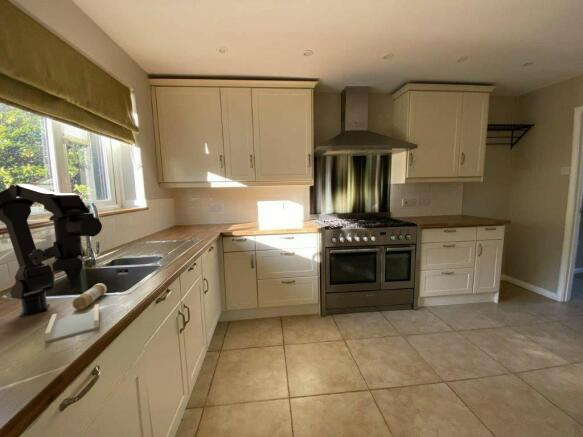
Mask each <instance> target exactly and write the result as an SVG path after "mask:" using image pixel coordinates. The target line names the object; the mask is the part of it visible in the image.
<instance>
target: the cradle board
mask: <svg viewBox="0 0 583 437" xmlns="http://www.w3.org/2000/svg"><path fill="white" fill-rule="evenodd" d="M93 309H94V310H93V311H89V312H84V313H80V314H76V315H72V316H68V317H67V316H66V317H64V318H59V319H58V313H53V314H51V317H50V319H49V322H48V325H47V327H46V330H45V332H44V338H45V339H44V340H45V343H46V344H47V343H50V342H54V341H58V340H62V339H65V338H69V337H73V336H76V335H80V334H85V333H89V332H91V331H94V330H98V329H100V305H99V303H97V304H94V308H93Z"/></svg>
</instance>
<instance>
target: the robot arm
mask: <svg viewBox="0 0 583 437" xmlns="http://www.w3.org/2000/svg"><path fill="white" fill-rule="evenodd" d="M35 203H37V204H39V205H43V207H44V208H43V209H44V210H46V211H48V212H49V213H51V214H52V215H51V216H50V217H49V218H48V220H49V221H51V222H52V221H53V228H54V230H53V231H54V236H55V237H54V238H55V239H54V241H53V242H52V243H53V244H51V245H49V246H46V247H42V248H41V247H39V248H36V244H35V241H34V238H33V235H32V232H31V229H30V226H29V222H28V219H29V217H30V216H31V213H32V206H33V205H34V204H35ZM0 222H2V223H3V224H4V225H5V228H6V230H7V232H8V236H9V238H10V242H11V245H12V246H11V247H12V248H13V251H14V255H15V257H16V261H17V265H18V270H17V271H16V273H15V276H14V280H15V283H14V285H13V286H12V288H11V289H10V291H9V294H10V296H11V299H16V300H20V302H21V309H22V310H21V313H20V314H19V315H18V317H19V318H23V317H26V316H33V315H37V314H40V313H44V312H48V311H49V308H50V307H51V304H50V303H48V302H47V296H46V295H47V294H46V292H49V291H53V289H54V285H55V275H54V274H53V272H59V271H62V272H64V273H65V276H66V277H67V280H68V282H69V284H70V286H71V287H73V286H77V283H78V280H79V277H80V275H81V274H82V273H81V272H82V270H83V267H84V264H85V259H84V258H83V257H86V249H84V248H83V246H82V245H83V244H82V240H83V239H82V237H95V236H97V235H99V234H100V233H101V231H102V228H103V225H102V223H101V221H100V219H98V218H97V217H95V216H94V213H93V212H90V209H89V208H88V207H87V205H86V204H85V203H84V201H83V199H82V198H81V196H80V195H79V194H77V193H73V192H72V193H71V192H70V193H68V192H66V193H65V192H54V191H51V190H48V189H45V188H42V187H38V186H35V184H34V185H33V184H30V183H29V184H28V183H27V184H26V183H14V184H10V185H9V187H8V188H6V189H4V190H1V191H0ZM52 258H54V259H55V261H53V262H52V264H51V265H52V267H51V265H50V264H45V263H43V262H45V261H47V260H50V259H52Z"/></svg>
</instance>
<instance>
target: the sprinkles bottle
mask: <svg viewBox="0 0 583 437" xmlns="http://www.w3.org/2000/svg"><path fill="white" fill-rule="evenodd" d="M107 291H108V289H107V285H105V283H96V284H94V285H93V286H92V287H91V288H89V289H87V290H86V291H84V292H83V293H81V294H80V295H79V296H77V297H75V298H74V299H73V301H72V307H73V308H74V309H75V310H76V311H77V310H79V311H81V310H84V309H86V308H87V307H88V306H89V305H91V304H92V303H94V302H95V301H96V300H97V299H99V297H101V296H103V295H104V294H106V292H107Z"/></svg>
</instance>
